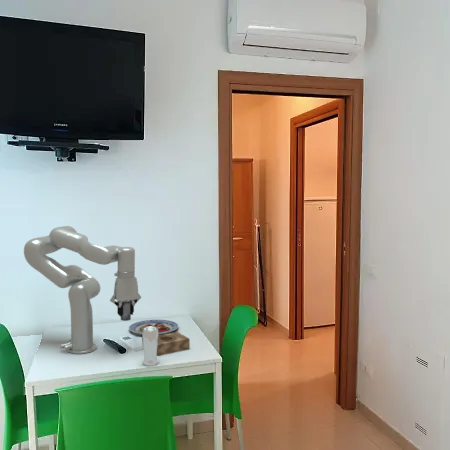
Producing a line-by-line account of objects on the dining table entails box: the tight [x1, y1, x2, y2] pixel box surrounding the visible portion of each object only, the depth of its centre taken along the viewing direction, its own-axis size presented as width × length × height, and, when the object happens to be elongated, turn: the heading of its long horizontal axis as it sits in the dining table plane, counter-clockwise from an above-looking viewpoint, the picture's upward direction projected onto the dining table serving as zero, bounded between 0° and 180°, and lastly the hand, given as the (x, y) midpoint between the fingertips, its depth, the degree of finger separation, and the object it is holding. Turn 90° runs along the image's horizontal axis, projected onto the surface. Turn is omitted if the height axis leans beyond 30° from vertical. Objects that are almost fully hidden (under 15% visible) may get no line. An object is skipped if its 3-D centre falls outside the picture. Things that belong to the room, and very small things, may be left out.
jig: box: [157, 331, 191, 357], centre depth 209 cm, size 18×12×6 cm, turn 123°
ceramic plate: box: [128, 319, 179, 335], centre depth 238 cm, size 26×26×3 cm
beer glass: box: [141, 326, 159, 367], centre depth 191 cm, size 7×7×15 cm
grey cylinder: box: [120, 301, 132, 322], centre depth 203 cm, size 4×4×8 cm
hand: (125, 314), depth 203 cm, fingers closed on grey cylinder, 4 cm apart
